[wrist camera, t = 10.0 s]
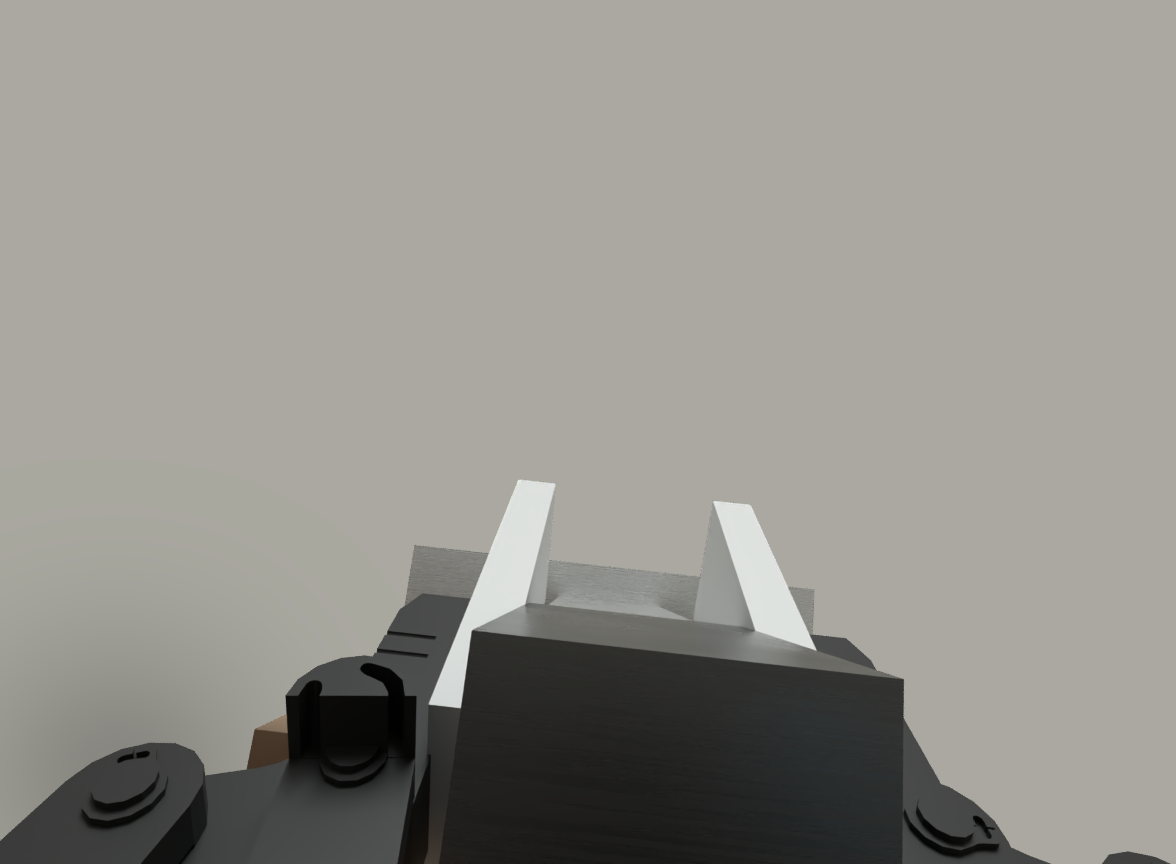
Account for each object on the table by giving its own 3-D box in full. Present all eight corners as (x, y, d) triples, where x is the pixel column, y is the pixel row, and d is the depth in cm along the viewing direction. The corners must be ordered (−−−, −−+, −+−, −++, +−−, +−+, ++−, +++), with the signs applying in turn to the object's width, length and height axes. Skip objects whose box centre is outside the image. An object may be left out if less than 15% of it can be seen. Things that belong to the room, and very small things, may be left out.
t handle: (1612, 1303, 4) (1495, 634, 5) (-268, 1061, 4) (-72, 461, 5) (770, 706, 23) (776, 587, 24) (424, 666, 23) (442, 550, 24)
